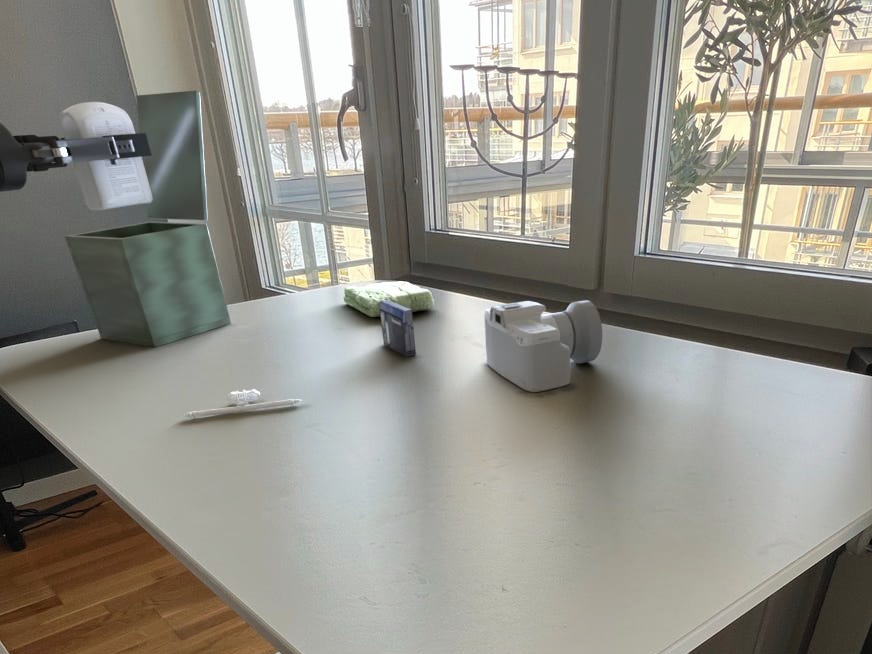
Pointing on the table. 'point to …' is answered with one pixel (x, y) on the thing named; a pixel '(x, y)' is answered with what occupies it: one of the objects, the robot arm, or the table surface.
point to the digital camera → (540, 342)
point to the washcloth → (387, 297)
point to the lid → (174, 155)
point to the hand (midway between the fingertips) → (135, 144)
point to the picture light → (242, 404)
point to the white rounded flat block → (99, 177)
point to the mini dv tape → (397, 327)
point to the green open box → (150, 281)
